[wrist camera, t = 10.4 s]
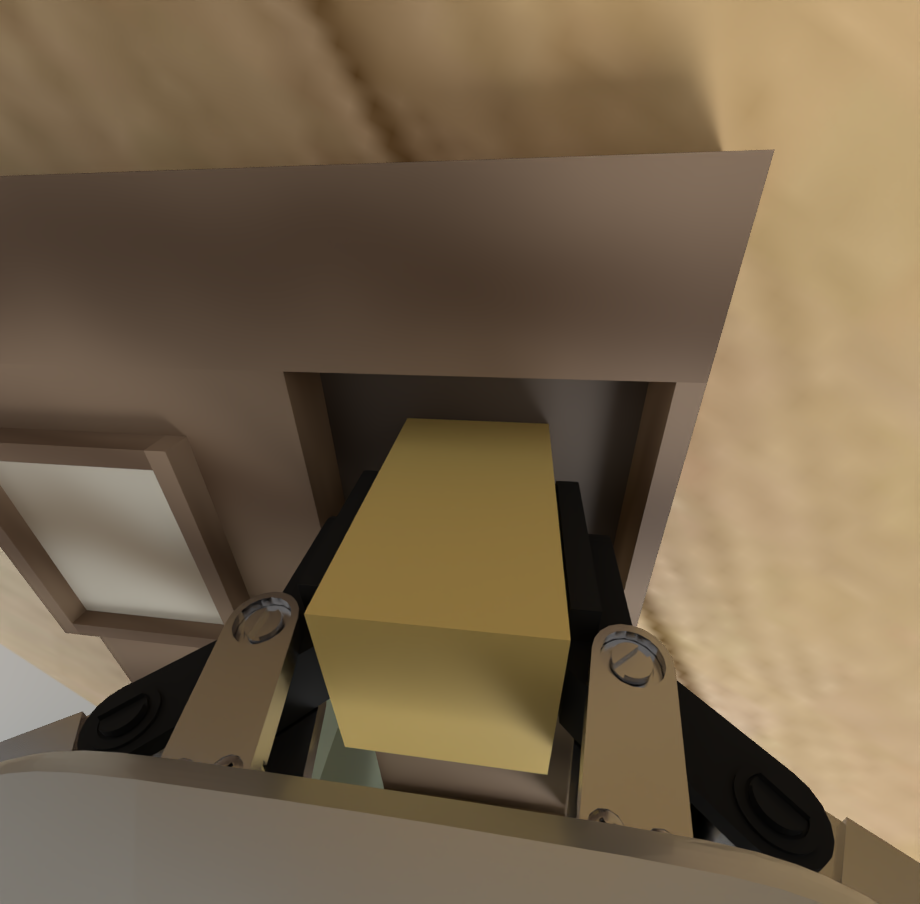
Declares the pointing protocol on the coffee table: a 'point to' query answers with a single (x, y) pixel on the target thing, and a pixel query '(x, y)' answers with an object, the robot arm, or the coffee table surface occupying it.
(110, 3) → the coffee table surface
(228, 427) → the puzzle board
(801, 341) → the coffee table surface
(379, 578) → the block
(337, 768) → the cover
